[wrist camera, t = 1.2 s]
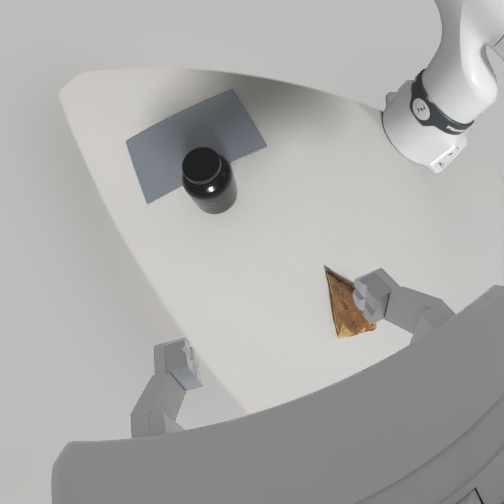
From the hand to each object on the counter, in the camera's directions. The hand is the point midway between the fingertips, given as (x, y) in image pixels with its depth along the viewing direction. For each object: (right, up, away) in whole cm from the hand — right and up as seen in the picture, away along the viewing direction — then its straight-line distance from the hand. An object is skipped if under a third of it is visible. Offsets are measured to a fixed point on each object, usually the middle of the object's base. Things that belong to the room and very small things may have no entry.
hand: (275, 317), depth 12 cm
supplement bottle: (-7, +12, +31) cm, 34 cm away
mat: (-12, +22, +32) cm, 41 cm away
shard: (+13, -6, +29) cm, 33 cm away
